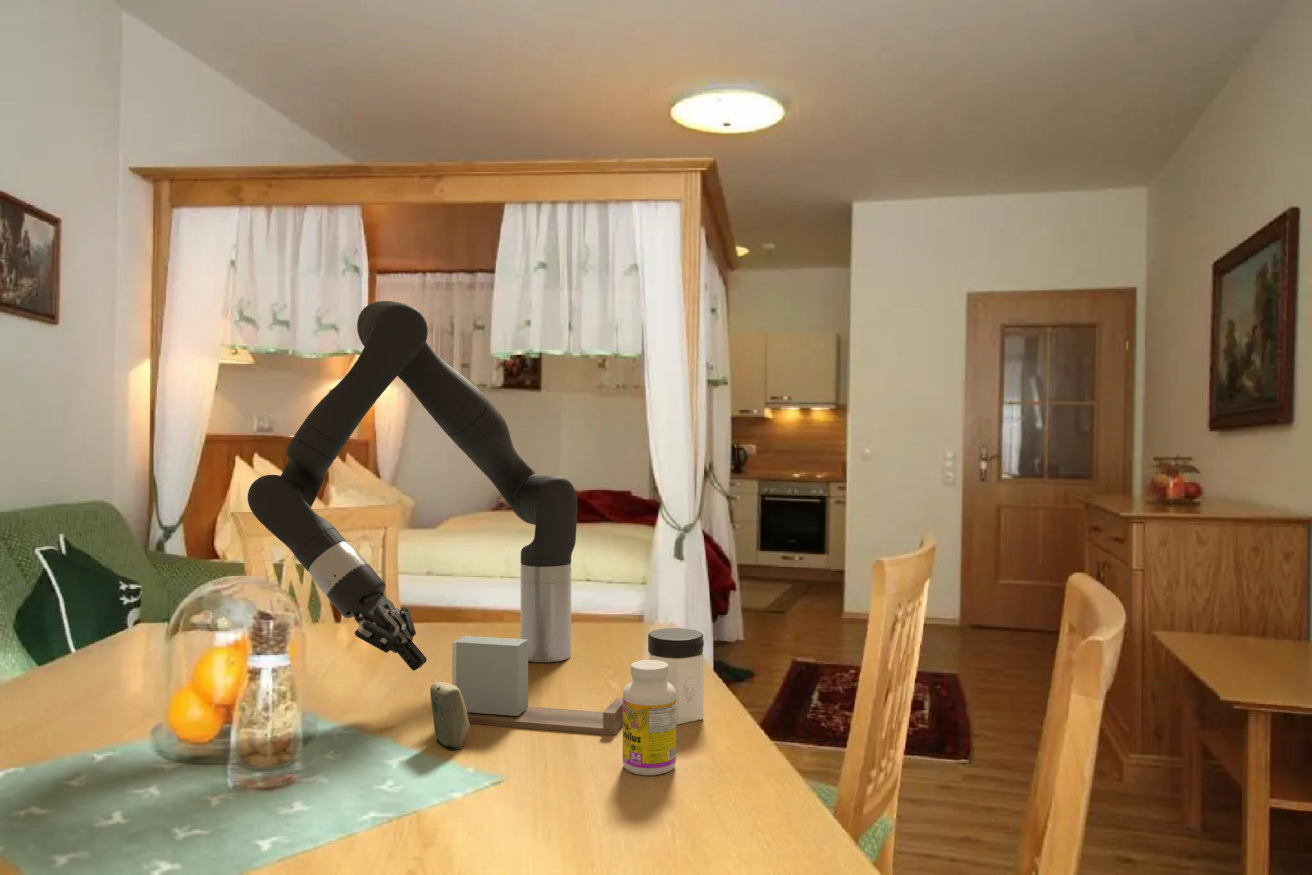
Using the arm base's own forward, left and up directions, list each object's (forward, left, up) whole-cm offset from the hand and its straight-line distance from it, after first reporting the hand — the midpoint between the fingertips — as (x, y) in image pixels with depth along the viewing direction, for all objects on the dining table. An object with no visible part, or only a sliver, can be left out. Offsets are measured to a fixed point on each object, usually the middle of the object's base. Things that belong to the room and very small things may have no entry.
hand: (420, 665), depth 137 cm
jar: (-7, +37, -7) cm, 38 cm away
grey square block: (0, +11, -6) cm, 12 cm away
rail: (0, +17, -7) cm, 18 cm away
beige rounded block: (+12, +10, -7) cm, 17 cm away
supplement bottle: (+14, +38, -7) cm, 41 cm away
